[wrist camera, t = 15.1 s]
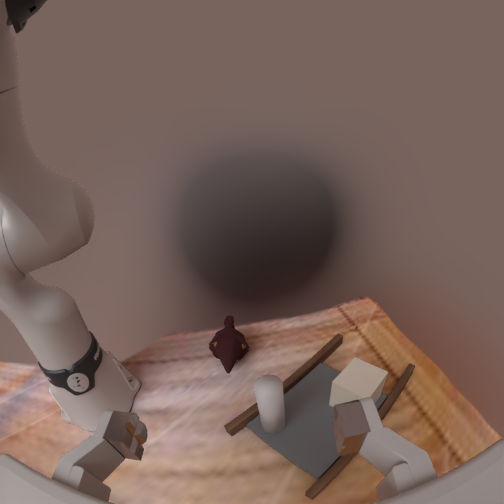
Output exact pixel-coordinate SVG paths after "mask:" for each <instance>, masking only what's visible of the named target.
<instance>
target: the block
mask: <svg viewBox="0 0 504 504" xmlns="http://www.w3.org/2000/svg"><path fill="white" fill-rule="evenodd" d="M387 375H388V371H385V370H383V369H381V368H378V367H376V366H374V365H371V364H369V363H367V362H365V361H363V360H360V359H358V358H356V357H355V358H354V359H353V360H352V361H351V362H350V363H349V364H348V365H347V366H346V368H345V369H344V370H343V371H342V372H341V373H340V374H339V375H338V376H337V377H336V378H335V379H334V380H333V381H332V387H331V395H330V402H329V405H330V406H332V407H334V405H337V404H341V403H345V402H350V401H354V400H359V399H362V398H366V397H371V398H372V399H373V401H374V403H376V401H377V400H378V399H379V397H380V396H381V393H382V390H383V387H384V384H385V381H386V378H387Z"/></svg>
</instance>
